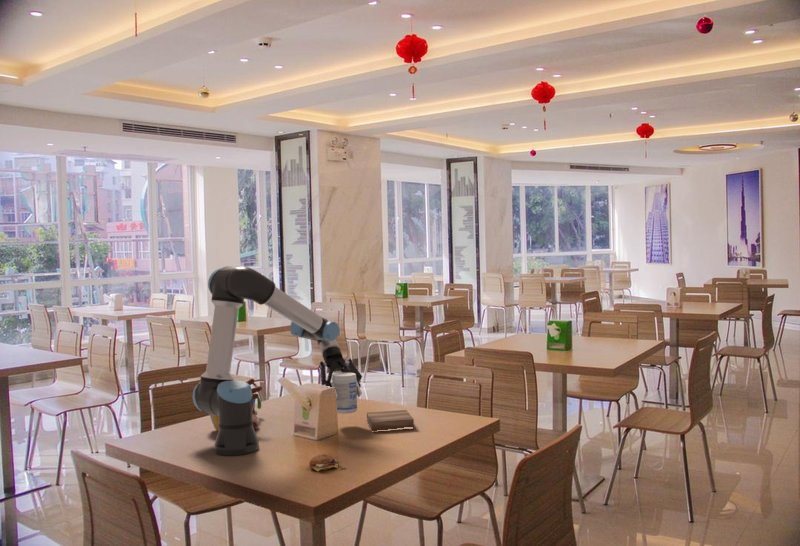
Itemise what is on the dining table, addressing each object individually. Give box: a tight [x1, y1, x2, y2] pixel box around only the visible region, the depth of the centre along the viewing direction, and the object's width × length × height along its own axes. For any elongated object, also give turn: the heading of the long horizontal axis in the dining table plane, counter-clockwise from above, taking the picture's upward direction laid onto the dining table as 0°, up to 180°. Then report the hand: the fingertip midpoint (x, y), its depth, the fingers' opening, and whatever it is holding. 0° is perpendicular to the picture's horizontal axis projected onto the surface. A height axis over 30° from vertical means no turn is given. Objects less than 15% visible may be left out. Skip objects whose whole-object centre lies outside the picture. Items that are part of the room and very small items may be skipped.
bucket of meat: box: [209, 378, 263, 431], centre depth 271 cm, size 20×16×20 cm
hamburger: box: [309, 453, 344, 472], centre depth 219 cm, size 14×14×6 cm
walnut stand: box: [366, 409, 415, 432], centre depth 269 cm, size 16×16×4 cm
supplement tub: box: [331, 372, 358, 415], centre depth 270 cm, size 10×10×15 cm
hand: (348, 396), depth 267 cm, fingers closed on supplement tub, 9 cm apart
